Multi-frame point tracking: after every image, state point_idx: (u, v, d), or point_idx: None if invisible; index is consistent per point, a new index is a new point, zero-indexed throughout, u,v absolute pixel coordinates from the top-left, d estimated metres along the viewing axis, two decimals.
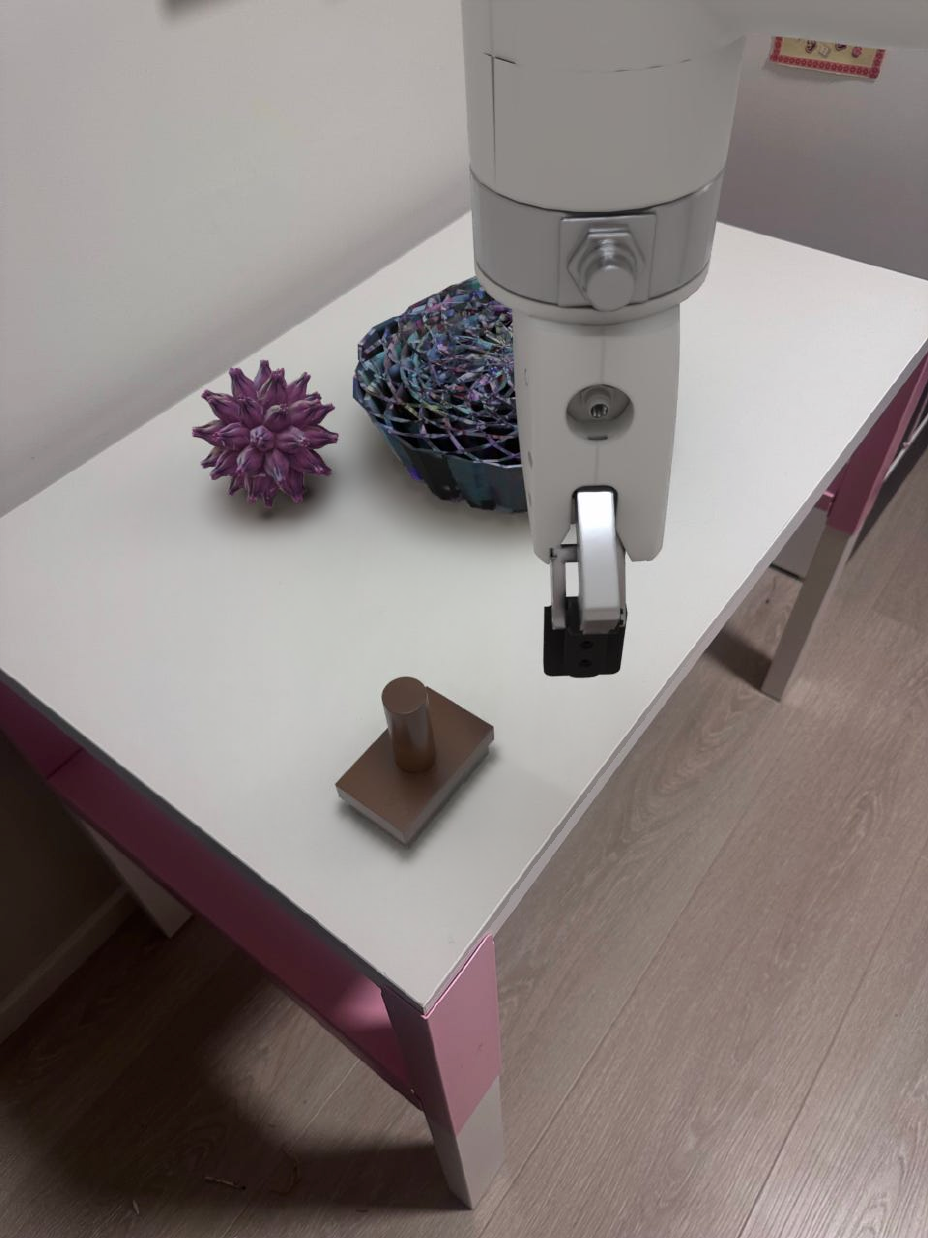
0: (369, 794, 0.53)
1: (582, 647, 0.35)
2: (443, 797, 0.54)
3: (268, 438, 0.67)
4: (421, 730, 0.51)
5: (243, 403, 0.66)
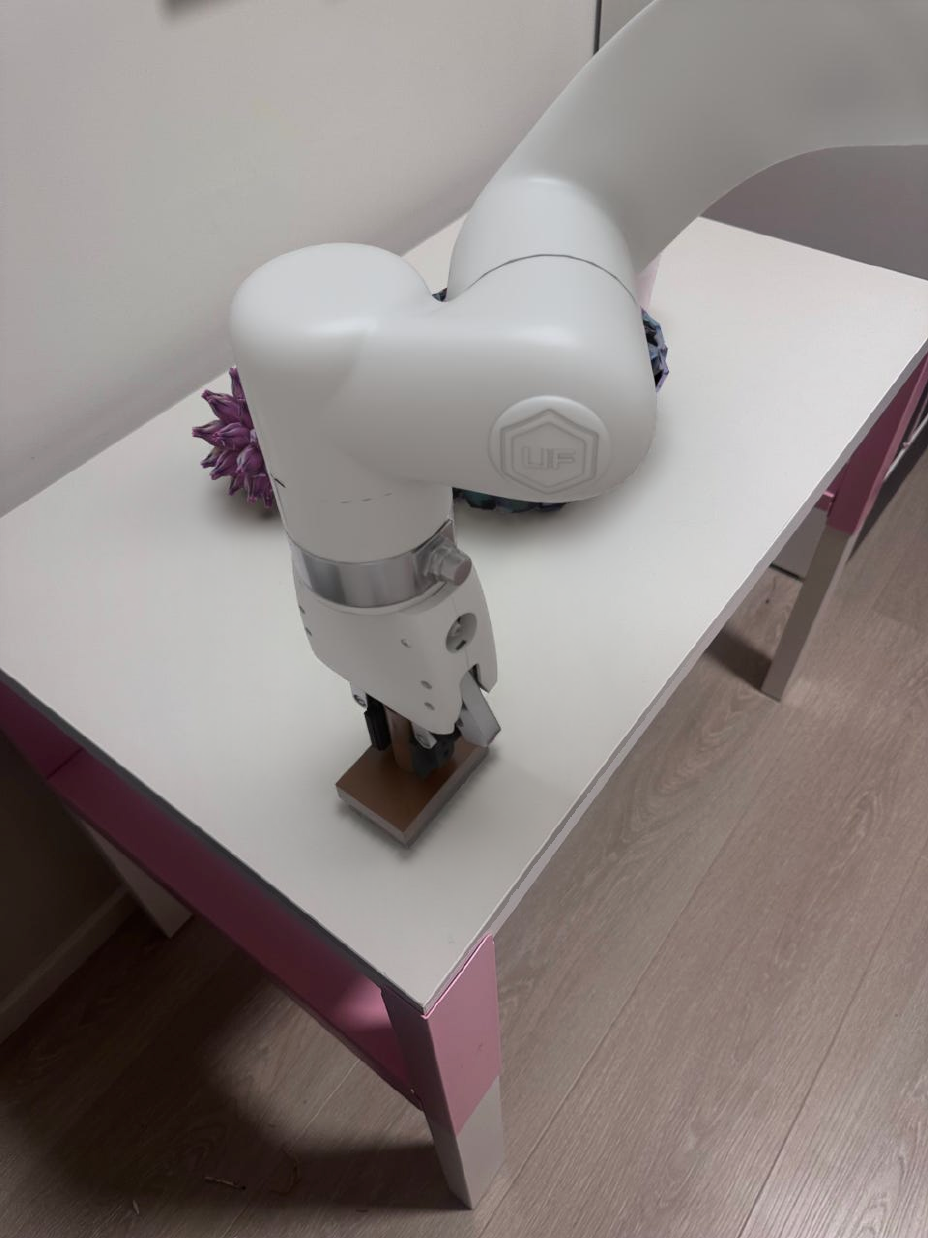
0: (369, 794, 0.53)
1: (442, 745, 0.51)
2: (443, 797, 0.54)
3: None
4: None
5: (243, 403, 0.66)
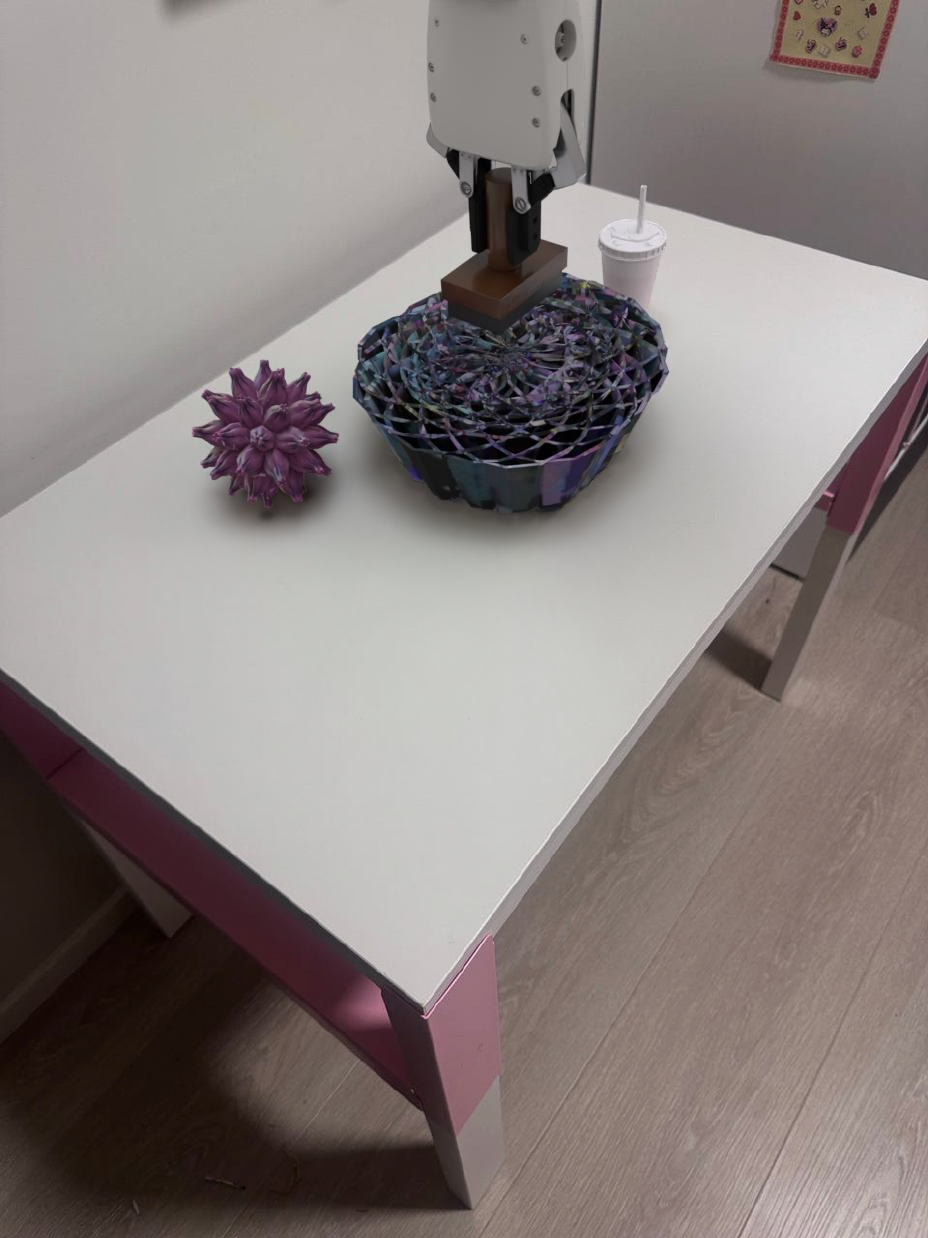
0: (469, 283, 0.65)
1: (533, 224, 0.63)
2: (528, 293, 0.66)
3: (268, 438, 0.67)
4: None
5: (243, 403, 0.66)
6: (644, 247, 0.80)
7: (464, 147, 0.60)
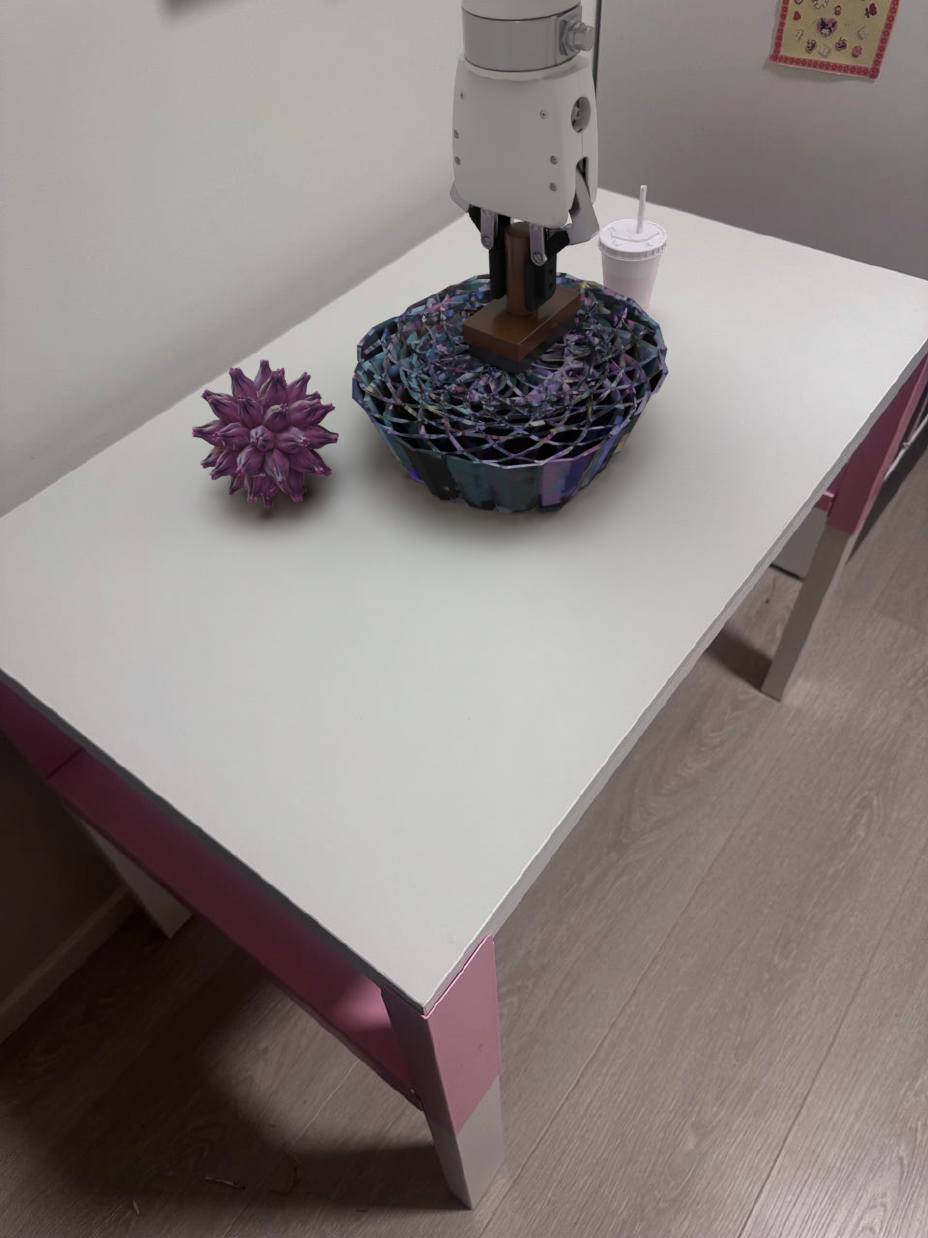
0: (489, 327, 0.70)
1: (549, 274, 0.67)
2: (544, 336, 0.71)
3: (268, 438, 0.67)
4: None
5: (243, 403, 0.66)
6: (644, 247, 0.80)
7: (486, 205, 0.65)
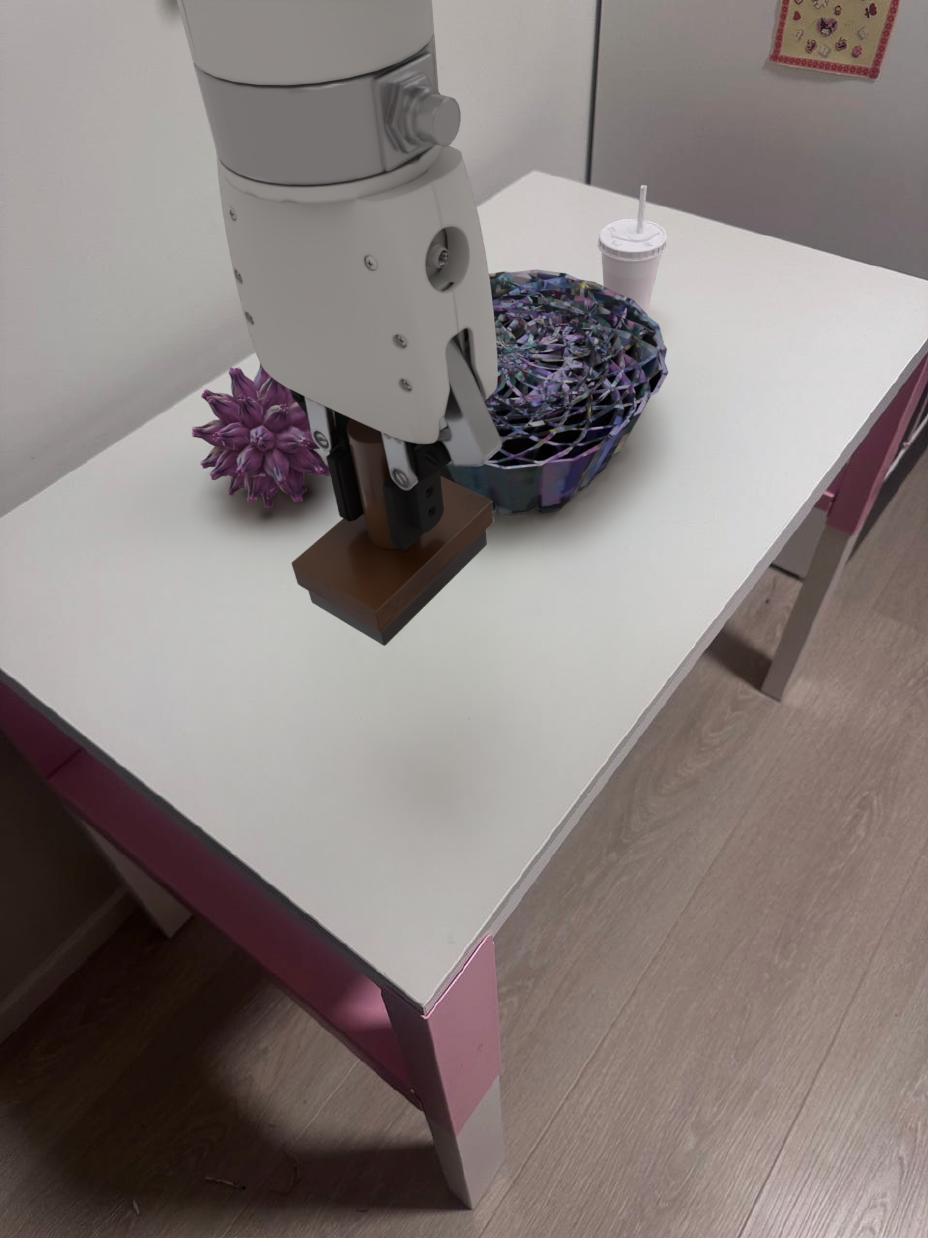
0: (334, 572, 0.42)
1: (426, 497, 0.39)
2: (428, 581, 0.43)
3: (268, 438, 0.67)
4: None
5: (243, 403, 0.66)
6: (644, 247, 0.80)
7: (306, 393, 0.37)
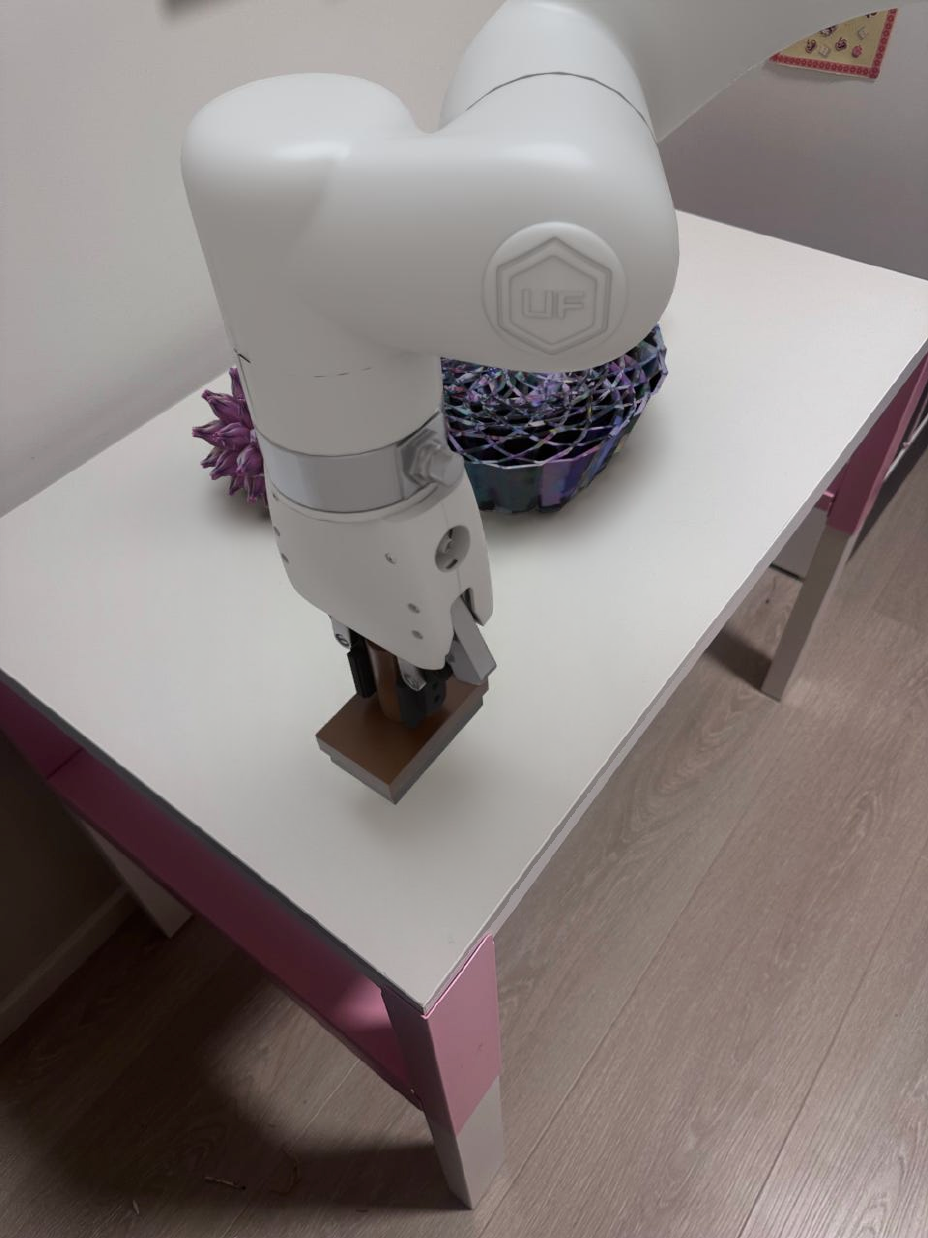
0: (352, 745, 0.49)
1: (432, 689, 0.46)
2: (433, 749, 0.50)
3: None
4: None
5: (243, 403, 0.66)
6: None
7: (331, 615, 0.43)
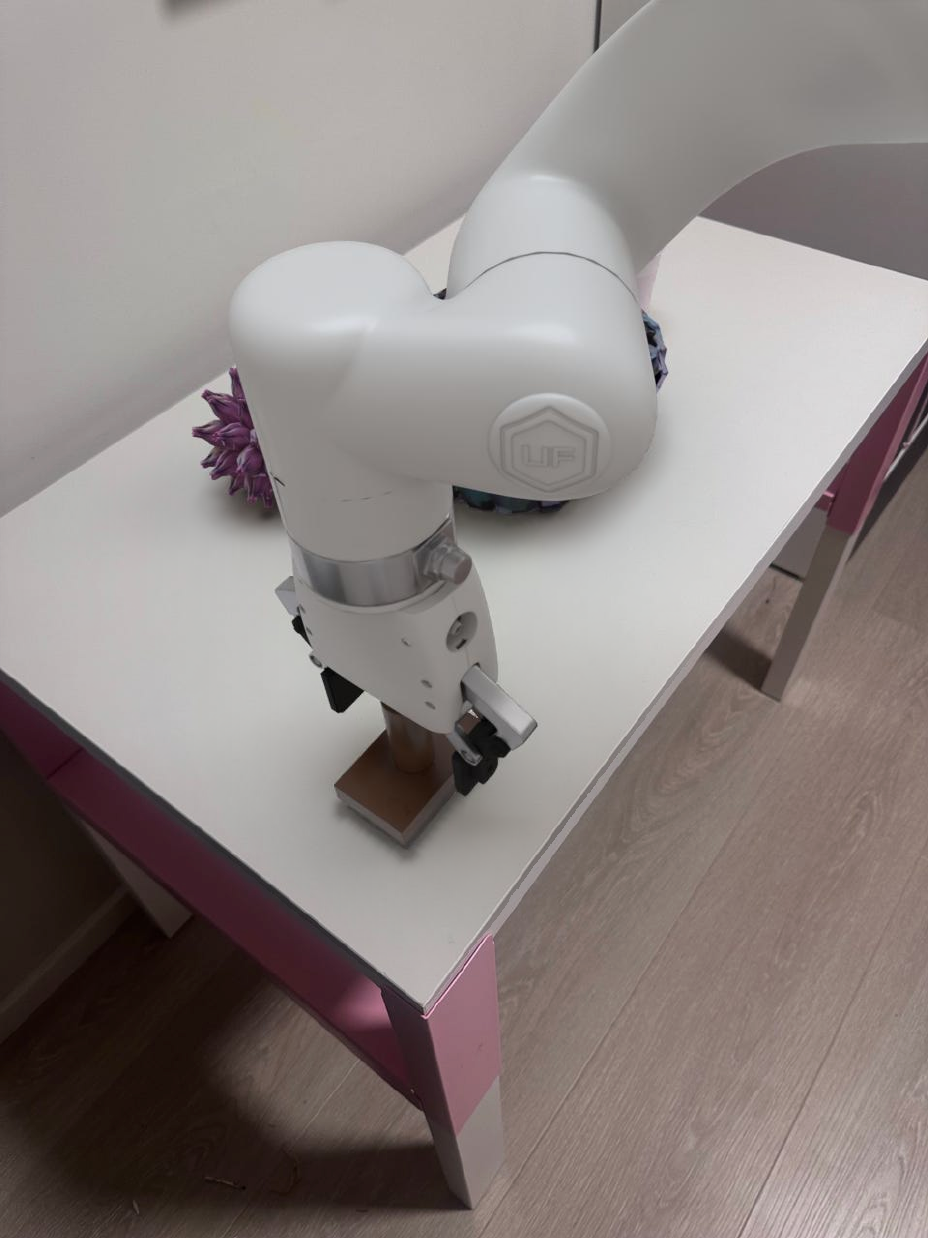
0: (368, 795, 0.53)
1: (486, 761, 0.48)
2: (442, 797, 0.54)
3: None
4: (419, 731, 0.51)
5: (243, 403, 0.66)
6: None
7: (351, 680, 0.48)
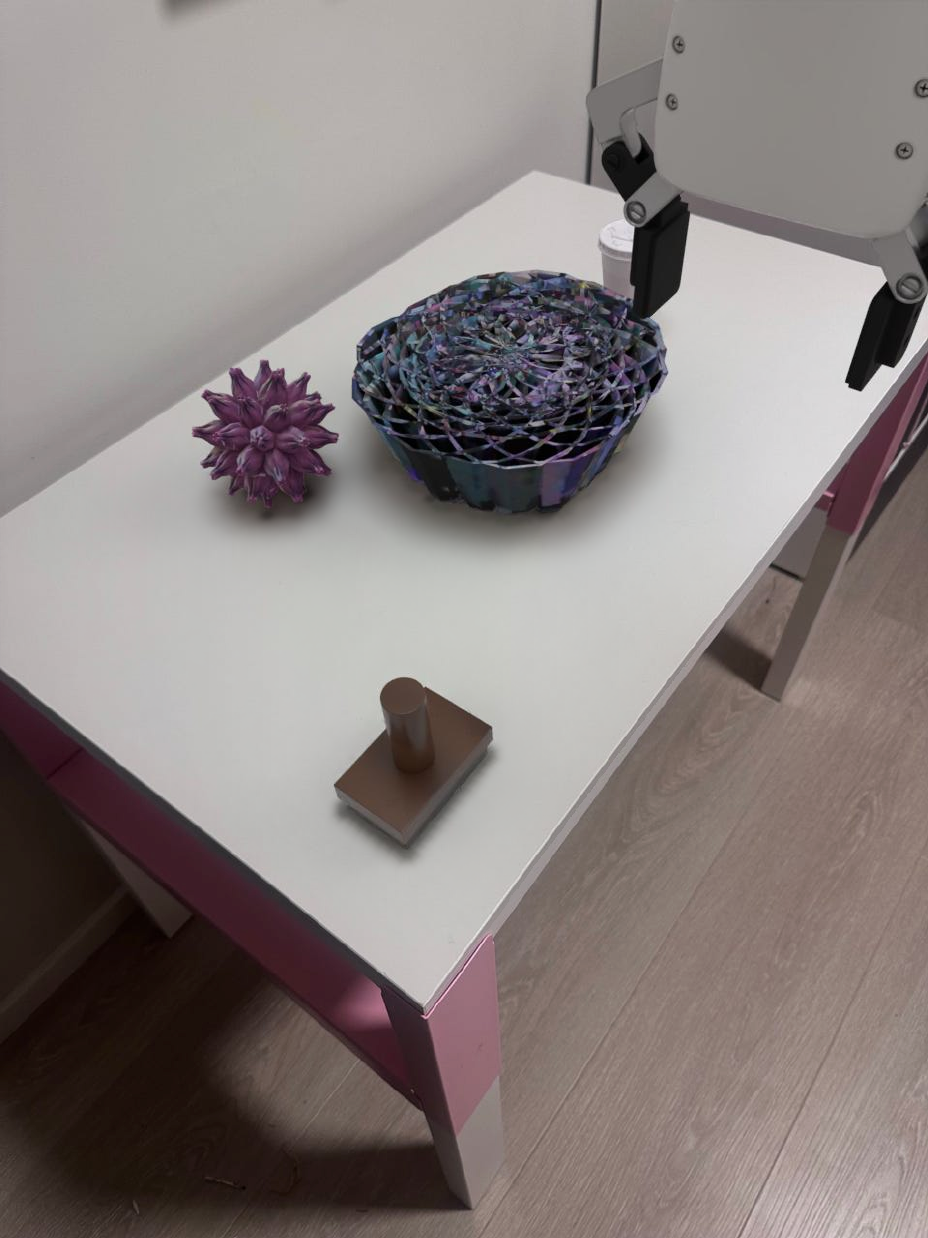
0: (368, 795, 0.53)
1: (911, 319, 0.33)
2: (442, 797, 0.54)
3: (268, 438, 0.67)
4: (419, 731, 0.51)
5: (243, 403, 0.66)
6: None
7: (720, 193, 0.33)
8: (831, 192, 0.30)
